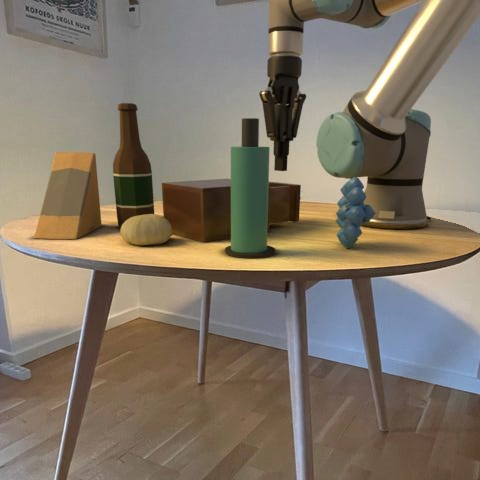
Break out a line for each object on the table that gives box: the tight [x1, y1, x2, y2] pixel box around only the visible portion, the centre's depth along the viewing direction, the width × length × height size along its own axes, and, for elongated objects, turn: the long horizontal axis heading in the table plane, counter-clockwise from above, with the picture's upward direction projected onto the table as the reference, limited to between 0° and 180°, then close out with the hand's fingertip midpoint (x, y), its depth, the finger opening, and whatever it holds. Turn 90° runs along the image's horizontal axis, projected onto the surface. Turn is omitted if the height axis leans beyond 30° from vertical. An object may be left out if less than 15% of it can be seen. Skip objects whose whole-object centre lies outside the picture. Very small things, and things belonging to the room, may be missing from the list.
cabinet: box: [161, 178, 270, 243], centre depth 94 cm, size 17×14×10 cm
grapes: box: [335, 177, 375, 249], centre depth 79 cm, size 12×7×12 cm, turn 178°
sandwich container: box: [33, 151, 102, 240], centre depth 92 cm, size 9×15×15 cm, turn 177°
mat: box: [224, 244, 276, 259], centre depth 78 cm, size 8×8×1 cm
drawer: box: [269, 181, 302, 225], centre depth 101 cm, size 20×12×8 cm, turn 131°
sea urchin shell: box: [119, 213, 173, 246], centre depth 85 cm, size 9×8×8 cm
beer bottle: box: [112, 102, 155, 229], centre depth 95 cm, size 8×8×24 cm
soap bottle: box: [230, 117, 270, 253], centre depth 74 cm, size 6×6×20 cm
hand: (280, 170), depth 110 cm, fingers closed
